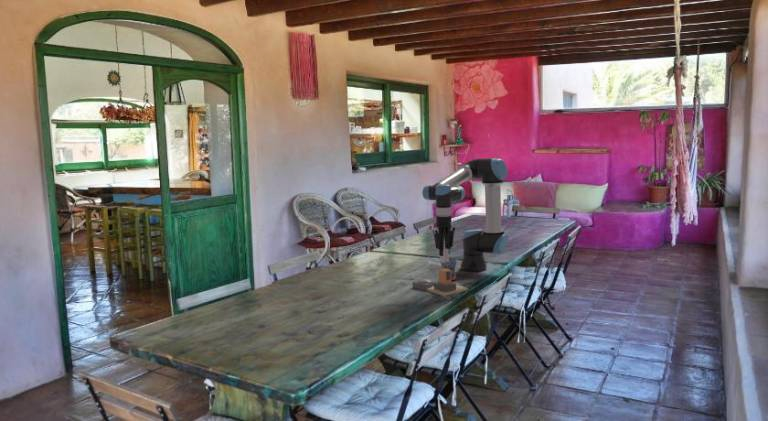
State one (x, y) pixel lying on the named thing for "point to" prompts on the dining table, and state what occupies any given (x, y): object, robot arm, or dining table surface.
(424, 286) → the grey domed square block
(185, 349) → the dining table surface
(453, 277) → the mug
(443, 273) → the plug
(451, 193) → the robot arm
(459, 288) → the board
